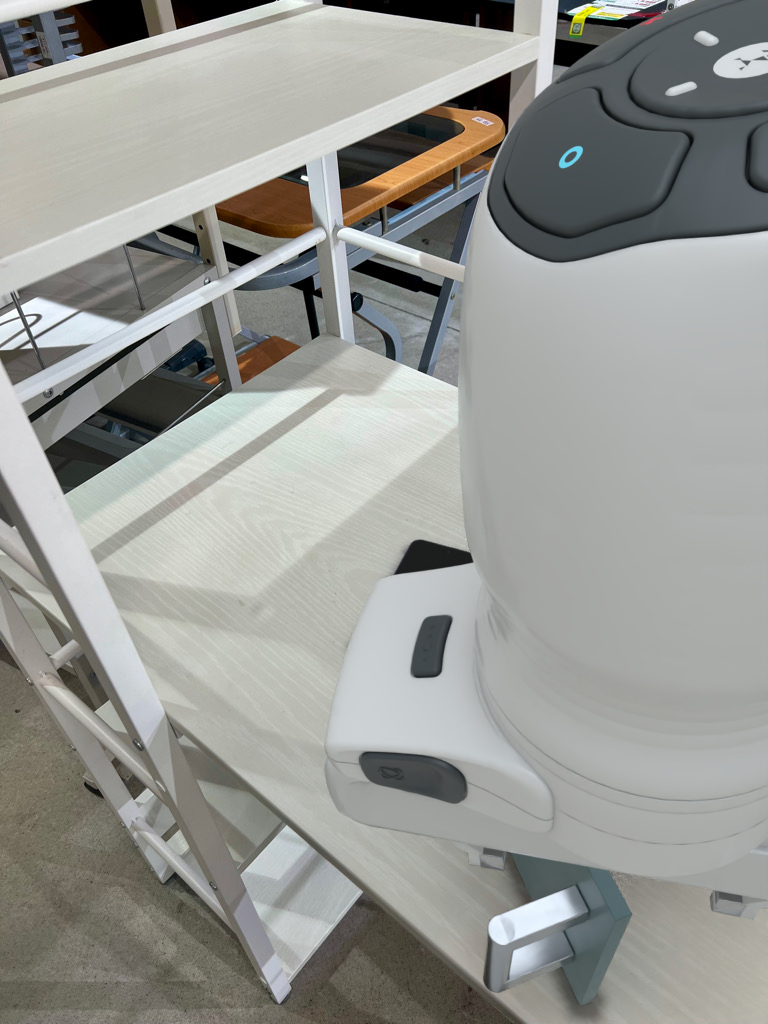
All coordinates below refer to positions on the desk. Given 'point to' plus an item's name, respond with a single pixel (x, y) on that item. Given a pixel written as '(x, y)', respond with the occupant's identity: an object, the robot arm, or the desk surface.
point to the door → (557, 928)
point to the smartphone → (431, 557)
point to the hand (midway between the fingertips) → (604, 871)
